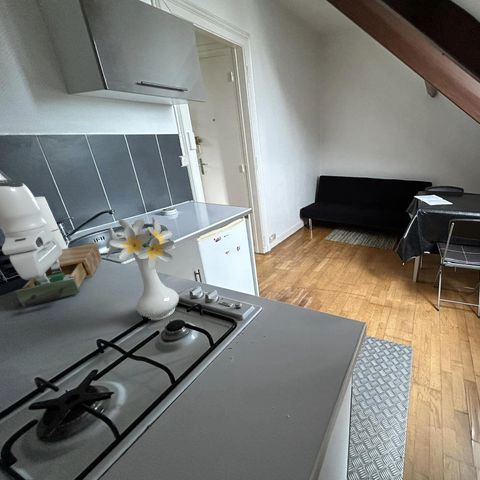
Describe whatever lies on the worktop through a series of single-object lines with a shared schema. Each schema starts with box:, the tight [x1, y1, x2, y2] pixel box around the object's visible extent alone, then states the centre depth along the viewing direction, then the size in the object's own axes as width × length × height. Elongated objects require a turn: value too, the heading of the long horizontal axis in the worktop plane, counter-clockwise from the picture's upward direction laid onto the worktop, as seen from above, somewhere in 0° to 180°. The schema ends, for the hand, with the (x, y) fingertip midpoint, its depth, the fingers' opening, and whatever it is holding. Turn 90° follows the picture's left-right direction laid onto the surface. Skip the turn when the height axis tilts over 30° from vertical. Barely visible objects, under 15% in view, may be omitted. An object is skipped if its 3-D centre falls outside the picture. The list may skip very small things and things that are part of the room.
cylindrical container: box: [34, 196, 69, 249], centre depth 99 cm, size 7×7×25 cm
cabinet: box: [49, 242, 103, 279], centre depth 92 cm, size 18×14×7 cm
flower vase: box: [105, 217, 180, 321], centre depth 63 cm, size 13×18×25 cm
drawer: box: [14, 262, 88, 307], centre depth 79 cm, size 21×12×5 cm, turn 30°
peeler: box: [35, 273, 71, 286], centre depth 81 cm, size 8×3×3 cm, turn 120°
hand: (53, 279), depth 80 cm, fingers open, 8 cm apart
